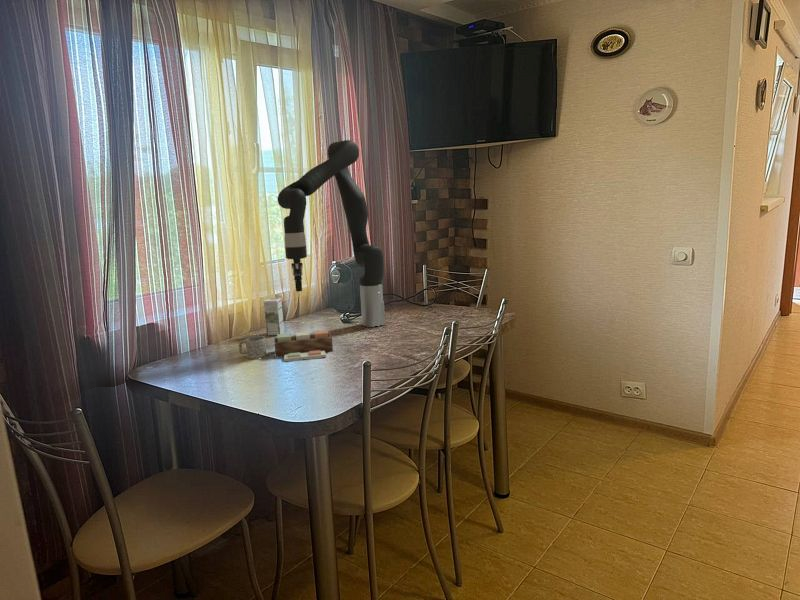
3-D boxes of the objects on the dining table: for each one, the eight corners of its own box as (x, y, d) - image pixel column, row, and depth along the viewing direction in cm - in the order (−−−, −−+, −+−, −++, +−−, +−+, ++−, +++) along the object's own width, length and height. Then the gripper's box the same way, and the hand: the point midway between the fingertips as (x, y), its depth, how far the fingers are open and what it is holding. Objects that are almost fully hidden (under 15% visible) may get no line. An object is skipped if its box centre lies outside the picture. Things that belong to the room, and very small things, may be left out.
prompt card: (324, 353, 202) (324, 348, 202) (326, 357, 197) (325, 352, 197) (284, 357, 199) (284, 353, 199) (284, 361, 195) (284, 357, 194)
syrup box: (284, 332, 234) (281, 297, 232) (280, 335, 229) (277, 300, 226) (271, 332, 235) (267, 297, 232) (266, 336, 229) (263, 300, 226)
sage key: (291, 339, 207) (290, 333, 206) (291, 343, 202) (291, 336, 202) (277, 341, 206) (277, 334, 205) (277, 344, 201) (277, 337, 201)
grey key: (309, 338, 208) (309, 331, 207) (310, 341, 203) (309, 334, 203) (296, 339, 207) (295, 332, 206) (296, 342, 202) (296, 335, 202)
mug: (269, 354, 204) (268, 336, 203) (260, 359, 198) (258, 341, 197) (245, 353, 207) (243, 335, 206) (235, 358, 201) (233, 340, 199)
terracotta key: (327, 336, 209) (327, 329, 209) (328, 339, 205) (328, 332, 204) (314, 337, 208) (313, 330, 208) (315, 340, 204) (314, 334, 203)
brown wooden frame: (330, 345, 212) (329, 332, 211) (332, 351, 204) (331, 337, 203) (275, 350, 208) (274, 337, 207) (275, 357, 200) (274, 343, 199)
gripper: (306, 246, 200) (309, 292, 204) (305, 242, 214) (308, 285, 217) (284, 247, 199) (288, 293, 202) (285, 243, 213) (288, 286, 216)
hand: (299, 289), depth 210 cm, fingers open, 8 cm apart
